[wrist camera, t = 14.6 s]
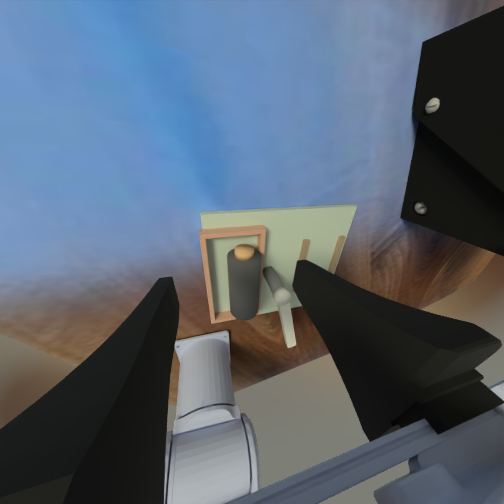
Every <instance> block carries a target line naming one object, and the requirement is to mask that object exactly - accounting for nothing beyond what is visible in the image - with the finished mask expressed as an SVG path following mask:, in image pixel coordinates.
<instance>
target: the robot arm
mask: <svg viewBox="0 0 504 504" xmlns="http://www.w3.org/2000/svg"><path fill="white" fill-rule="evenodd" d="M292 287H293V289H294V291H295V294H296V296H297V298H298V300H299V301H300V303H301V305H302V306H303V308H304V309H305V311H306V313H307V314H308V316H309V317H310V319H311V320H312V322H313V324H314V325H315V327H316V328H317V330H318V331H319V333H320V335H321V337H322V338H323V340H324V342H325V344H326V346H327V348H328V350H329V352H330V354H331V356H332V358H333V360H334V362H335V364H336V367H337V369H338V371H339V373H340V375H341V377H342V379H343V382H344V384H345V387H346V389H347V391H348V393H349V396H350V398H351V401H352V403H353V406H354V408H355V411H356V413H357V415H358V418H359V421H360V423H361V426H362V429H363V431H364V433H365V434H366V436H367V438H368V439H369V441H370V442H369V443H366V444H364V445H362V446H360V447H357V448H355V449H353V450H350V451H348V452H346V453H343V454H341V455H339V456H336V457H334V458H332V459H329V460H327V461H325V462H322V463H320V464H318V465H316V466H313V467H311V468H309V469H306V470H304V471H302V472H299V473H297V474H295V475H293V476H290V477H288V478H286V479H283V480H281V481H279V482H276V483H274V484H272V485H269V486H267V487H265V488H262V489H261V488H260V461H259V452H258V445H257V440H256V435H255V431H254V428H253V425H252V422H251V421H250V419H249V418H248V417H247V415H245V413H242V414H240V408H239V405H235V398H234V391H233V384H232V377H231V370H230V363H231V361H230V345H229V332H228V331H227V330H225V331H220V332H216V333H211V334H206V335H201V336H196V337H191V338H187V339H182V340H177V341H176V335H177V329H178V323H179V301H178V297H177V293H176V289H175V286H174V282H173V278H172V277H165V278H159V279H158V280H157V282H156V283H155V284H154V286H153V287H152V288H151V290H150V291H149V292H148V293H147V295H146V296H145V297H144V298H143V300H142V301H141V302H140V303H139V305H138V306H137V307H136V308H135V309H134V311H133V312H132V313H131V314H130V315H129V316H128V317H127V319H126V320H125V321H124V322H123V323H122V324H121V325H120V326H119V327H118V329H117V330H116V331H115V332H114V333H113V334H112V335H111V336H110V337H109V338H108V339H107V340H106V341H105V342H104V343H103V344H102V345H101V346H100V347H99V348H98V349H97V350H96V351H95V352H93V353H92V354H91V355H90V356H89V357H88V358H87V359H86V360H85V361H83V362H82V363H81V364H80V365H79V366H78V367H77V368H75V369H74V370H73V371H72V372H71V373H70V374H69V375H68V376H66V377H65V378H64V379H63V380H62V381H61V382H60V383H58V384H57V385H56V386H55V387H53V388H52V389H51V390H50V391H48V393H46V394H45V395H43V396H42V397H41V398H40V399H39V400H37V401H36V402H35V403H34V404H32V405H31V406H30V407H28V408H27V409H26V410H25V411H23V412H22V413H21V414H20V415H18V416H17V417H16V418H14V419H13V420H12V421H10V422H9V423H8V424H7V425H5V426H4V427H3V428H1V429H0V504H318V503H320V502H322V501H324V500H326V499H328V498H330V497H332V496H334V495H336V494H338V493H340V492H342V491H344V490H346V489H349V488H350V487H353V486H355V485H357V484H359V483H361V482H363V481H365V480H367V479H369V478H371V477H373V476H375V475H377V474H379V473H381V472H383V471H385V470H387V469H389V468H391V467H393V466H395V465H398V464H400V463H402V462H404V461H406V460H408V459H409V461H408V464H409V468H410V472H409V474H407V475H405V476H402V477H400V478H398V479H396V480H394V481H391V482H390V483H387V484H386V485H384V486H382V487H380V488H379V489H377V490H375V491H374V497H375V499H376V501H377V503H378V504H504V380H503V381H501V382H499V383H496V384H494V385H492V386H490V387H487V386H486V385H484V384H483V383H482V382H481V381H480V380H482V379H483V378H484V377H483V375H481V374H480V373H479V372H478V371H477V370H475V369H474V368H476V367H477V366H478V365H480V364H481V363H482V362H484V361H485V360H486V359H487V358H489V357H490V356H491V355H493V354H494V353H495V352H496V351H497V350H498V349H499V348H500V347H501V346H502V344H501V341H500V340H499V339H498V338H496V337H495V336H493V335H491V334H490V333H488V332H487V331H485V330H484V329H482V328H480V327H479V326H477V325H475V324H473V323H469V322H465V321H461V320H457V319H453V318H449V317H444V316H441V315H436V314H433V313H430V312H426V311H423V310H419V309H416V308H413V307H410V306H407V305H404V304H401V303H398V302H395V301H392V300H389V299H387V298H384V297H381V296H379V295H376V294H374V293H372V292H369V291H367V290H365V289H362V288H360V287H358V286H356V285H354V284H352V283H350V282H348V281H346V280H344V279H342V278H340V277H338V276H336V275H334V274H333V273H331V272H329V271H327V270H325V269H323V268H322V267H320V266H318V265H316V264H314V263H312V262H310V261H308V260H306V259H305V260H297V263H296V268H295V273H294V278H293V283H292ZM174 347H175V349H176V352H177V355H178V358H179V361H180V373H179V386H178V398H177V411H176V420H175V421H174V431H173V435H172V431H170V432H167V414H168V398H169V384H170V373H171V365H172V359H173V353H174Z"/></svg>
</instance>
